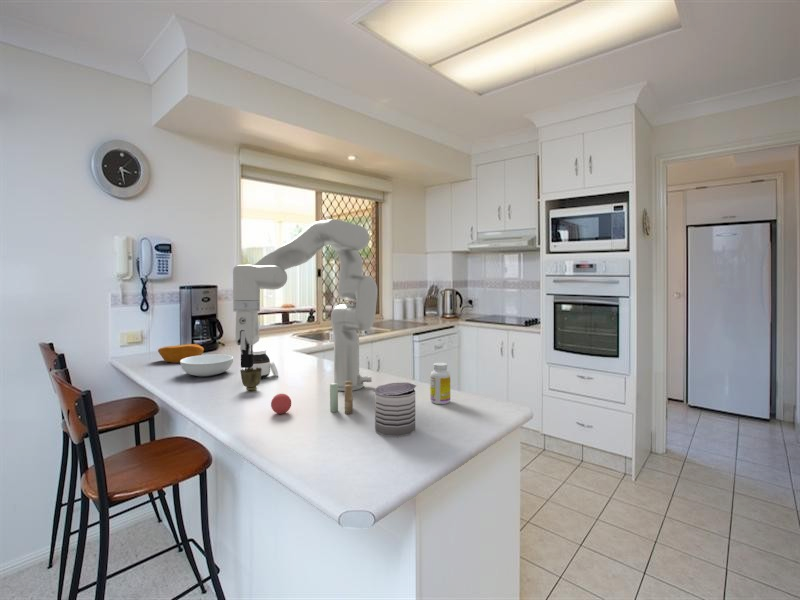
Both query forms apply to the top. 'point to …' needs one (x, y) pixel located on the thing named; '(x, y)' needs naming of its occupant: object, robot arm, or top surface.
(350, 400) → the pin
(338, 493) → the top surface
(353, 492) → the top surface
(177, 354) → the bread
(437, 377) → the supplement bottle
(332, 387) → the front pin
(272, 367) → the spread jar
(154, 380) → the top surface
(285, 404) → the ball
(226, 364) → the serving bowl
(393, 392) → the can
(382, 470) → the top surface
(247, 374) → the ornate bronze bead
